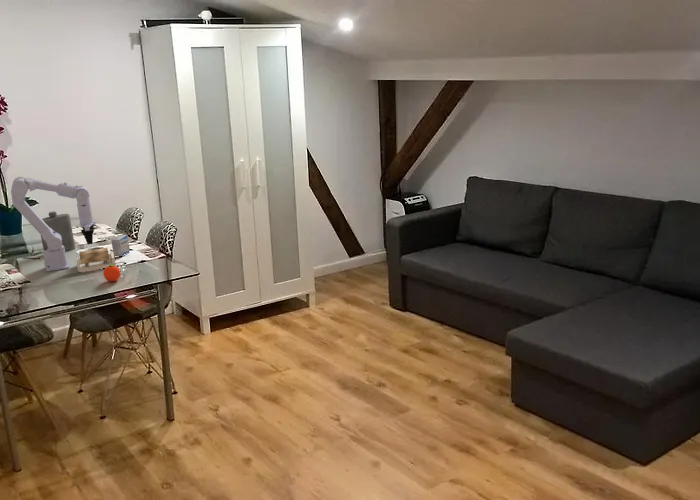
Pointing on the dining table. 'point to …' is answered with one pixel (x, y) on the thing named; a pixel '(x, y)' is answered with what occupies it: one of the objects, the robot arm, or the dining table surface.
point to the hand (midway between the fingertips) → (90, 241)
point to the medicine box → (120, 245)
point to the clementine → (111, 273)
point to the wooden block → (94, 255)
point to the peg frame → (95, 264)
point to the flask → (60, 229)
